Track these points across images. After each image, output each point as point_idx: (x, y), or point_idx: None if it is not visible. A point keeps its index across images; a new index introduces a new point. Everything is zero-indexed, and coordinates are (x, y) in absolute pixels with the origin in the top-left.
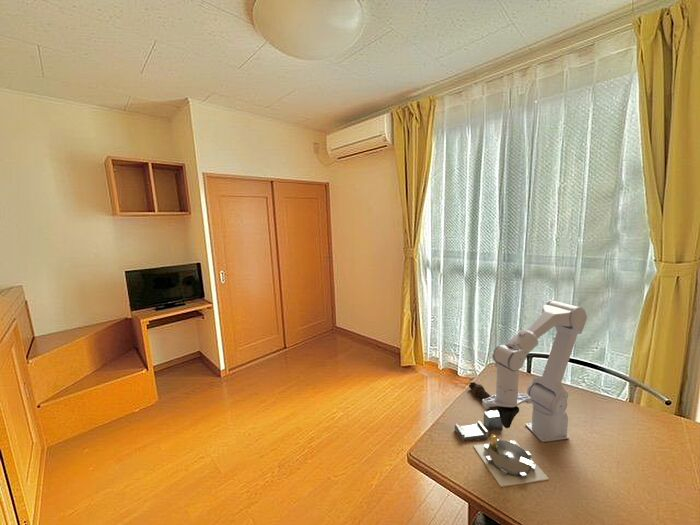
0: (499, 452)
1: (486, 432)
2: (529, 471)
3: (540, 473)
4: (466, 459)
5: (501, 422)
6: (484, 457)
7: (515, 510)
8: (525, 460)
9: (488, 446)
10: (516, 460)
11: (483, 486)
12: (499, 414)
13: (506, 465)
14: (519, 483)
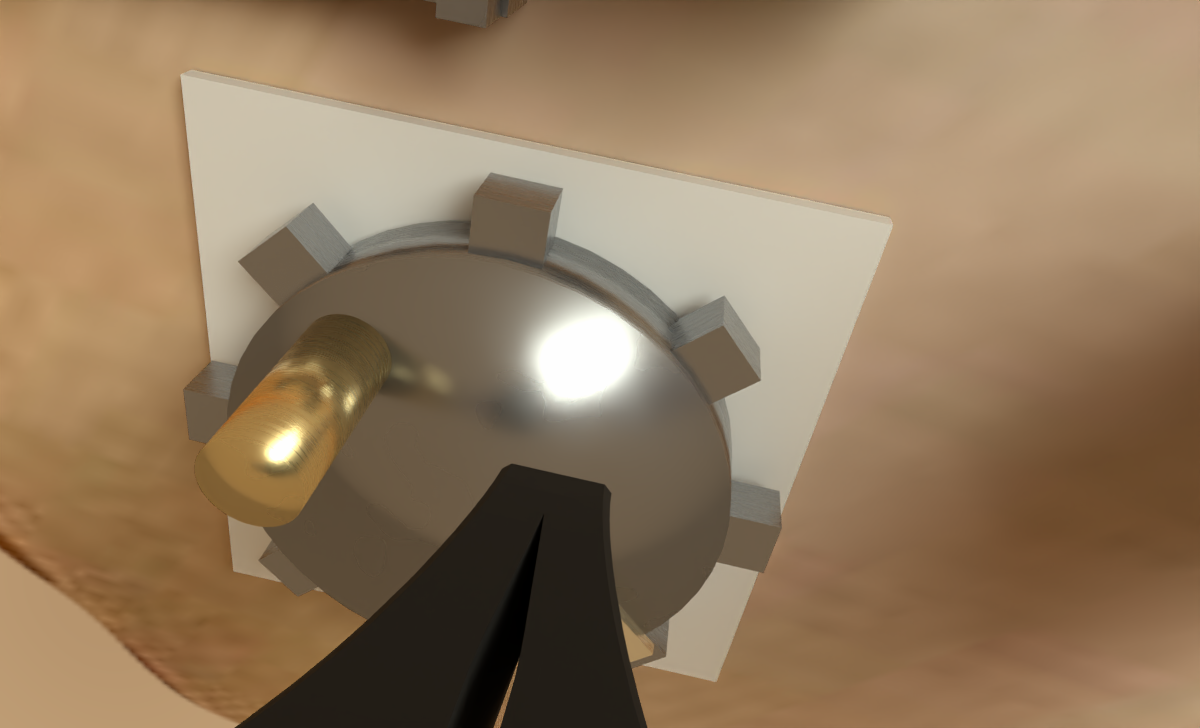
0: (377, 430)
1: (458, 18)
2: None
3: (692, 632)
4: (20, 216)
5: (491, 484)
6: (239, 298)
7: (245, 689)
8: None
9: (287, 303)
10: None
11: (89, 503)
12: (380, 612)
13: (338, 570)
14: None
